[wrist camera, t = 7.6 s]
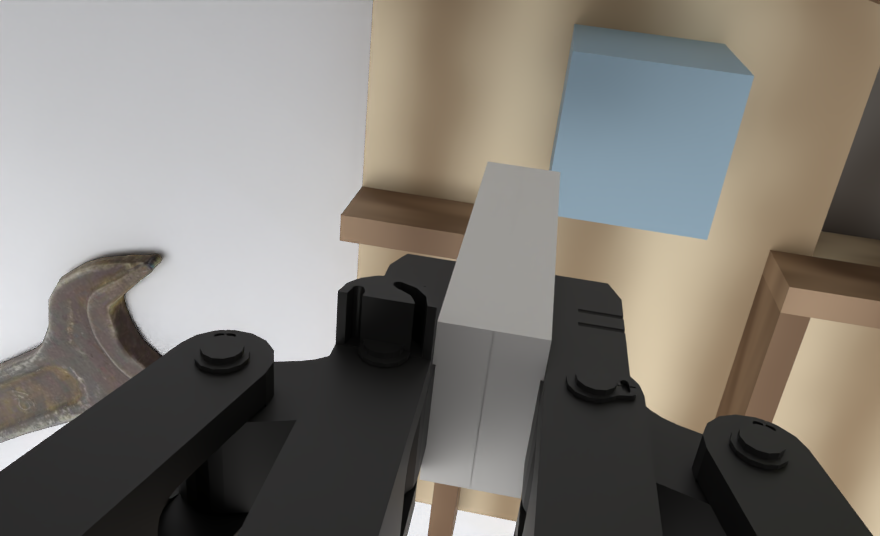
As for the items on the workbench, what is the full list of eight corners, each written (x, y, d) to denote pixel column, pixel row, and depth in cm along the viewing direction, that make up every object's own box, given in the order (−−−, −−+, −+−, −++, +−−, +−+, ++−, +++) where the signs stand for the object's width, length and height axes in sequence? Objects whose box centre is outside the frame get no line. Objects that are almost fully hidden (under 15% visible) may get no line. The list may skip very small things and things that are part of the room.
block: (549, 163, 28) (543, 213, 24) (574, 23, 26) (572, 51, 22) (687, 184, 28) (707, 240, 23) (724, 43, 26) (754, 75, 21)
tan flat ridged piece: (361, 447, 40) (326, 533, 34) (401, -144, 27) (357, -152, 22) (843, 539, 37) (886, 648, 32) (1122, -65, 25) (1267, -52, 20)
